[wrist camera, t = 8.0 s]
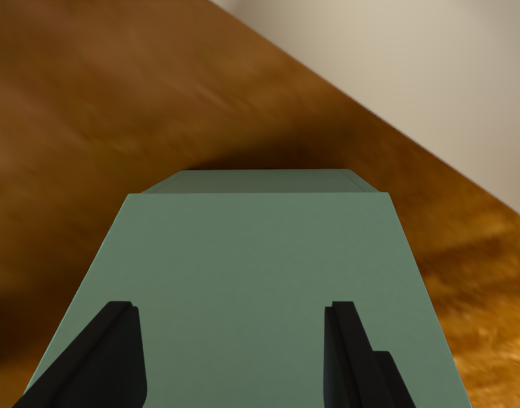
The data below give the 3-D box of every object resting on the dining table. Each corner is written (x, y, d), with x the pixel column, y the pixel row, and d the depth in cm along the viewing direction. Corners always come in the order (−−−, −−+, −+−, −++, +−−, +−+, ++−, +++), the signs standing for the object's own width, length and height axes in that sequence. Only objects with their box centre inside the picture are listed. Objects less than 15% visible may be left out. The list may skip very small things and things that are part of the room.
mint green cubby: (342, 331, 35) (370, 423, 25) (191, 329, 36) (154, 418, 26) (349, 168, 32) (385, 195, 21) (180, 170, 32) (132, 196, 22)
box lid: (561, 678, 8) (767, 689, 5) (-85, 639, 9) (-314, 624, 5) (386, 202, 21) (406, 114, 18) (131, 203, 22) (104, 119, 18)
